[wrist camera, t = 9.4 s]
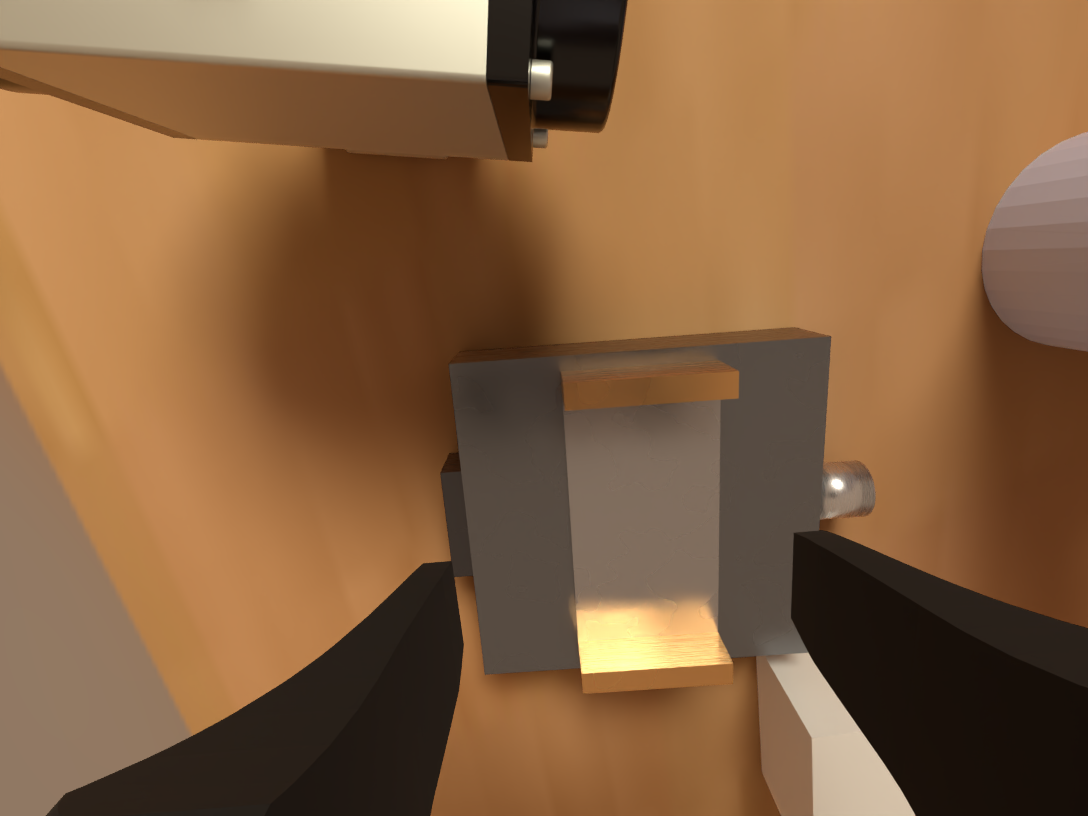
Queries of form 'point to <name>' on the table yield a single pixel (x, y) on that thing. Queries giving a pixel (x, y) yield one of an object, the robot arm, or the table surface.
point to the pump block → (817, 747)
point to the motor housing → (641, 501)
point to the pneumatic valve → (327, 69)
